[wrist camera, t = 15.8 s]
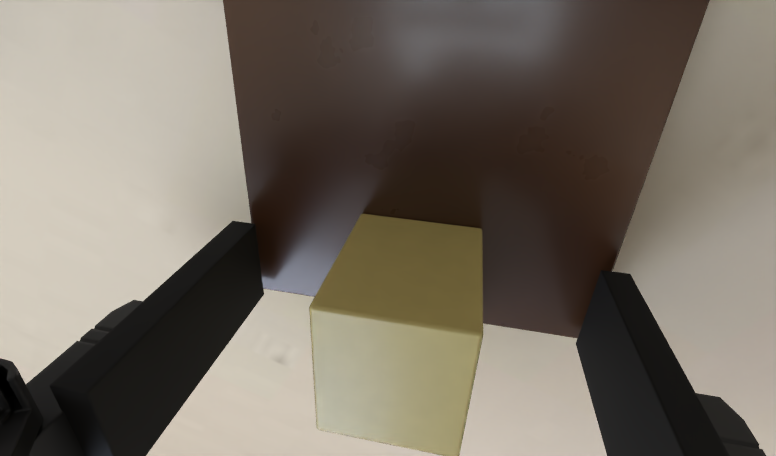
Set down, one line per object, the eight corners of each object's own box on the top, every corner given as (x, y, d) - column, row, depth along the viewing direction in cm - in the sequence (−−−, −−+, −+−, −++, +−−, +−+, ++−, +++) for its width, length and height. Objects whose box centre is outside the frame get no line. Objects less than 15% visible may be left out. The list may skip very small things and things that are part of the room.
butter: (464, 333, 14) (458, 460, 10) (359, 315, 15) (315, 430, 11) (482, 227, 12) (483, 334, 8) (360, 212, 13) (307, 306, 9)
